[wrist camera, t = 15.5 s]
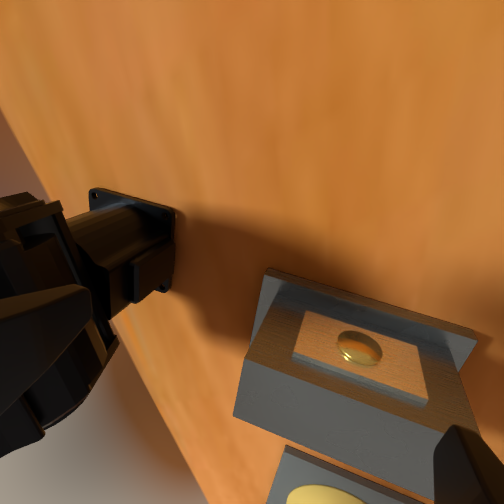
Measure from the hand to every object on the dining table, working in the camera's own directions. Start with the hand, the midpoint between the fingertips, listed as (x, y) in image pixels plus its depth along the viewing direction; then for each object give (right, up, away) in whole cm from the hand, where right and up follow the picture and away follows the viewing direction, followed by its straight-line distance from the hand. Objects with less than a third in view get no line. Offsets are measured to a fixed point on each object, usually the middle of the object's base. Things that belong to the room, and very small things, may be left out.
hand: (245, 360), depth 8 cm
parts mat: (+7, -20, +20) cm, 29 cm away
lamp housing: (+6, -3, +13) cm, 14 cm away
